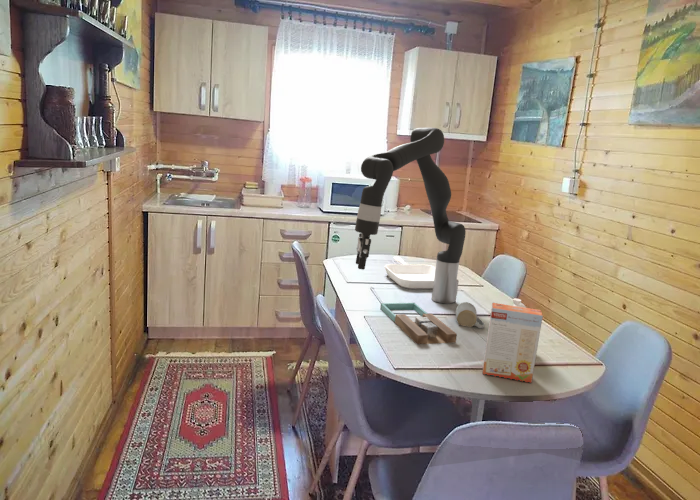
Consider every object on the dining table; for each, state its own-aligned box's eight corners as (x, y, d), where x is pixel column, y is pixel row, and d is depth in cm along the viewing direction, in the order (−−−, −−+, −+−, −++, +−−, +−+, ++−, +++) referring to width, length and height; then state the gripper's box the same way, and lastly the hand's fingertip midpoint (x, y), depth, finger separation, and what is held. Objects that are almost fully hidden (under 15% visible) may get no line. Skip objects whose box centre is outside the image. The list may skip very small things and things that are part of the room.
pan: (400, 290, 232) (402, 280, 230) (369, 263, 272) (370, 254, 271) (456, 290, 239) (458, 280, 238) (418, 264, 280) (419, 255, 279)
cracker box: (530, 375, 159) (542, 309, 154) (531, 384, 153) (543, 315, 149) (482, 366, 162) (492, 301, 157) (481, 374, 157) (492, 307, 152)
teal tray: (413, 310, 207) (414, 302, 207) (429, 323, 194) (430, 315, 194) (380, 310, 203) (380, 303, 202) (393, 324, 190) (394, 316, 189)
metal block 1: (425, 327, 187) (426, 316, 186) (429, 332, 183) (430, 321, 182) (414, 327, 186) (415, 316, 185) (418, 332, 182) (419, 321, 181)
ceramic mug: (455, 327, 193) (458, 307, 191) (454, 319, 201) (457, 300, 199) (484, 332, 192) (488, 311, 190) (482, 324, 199) (485, 304, 198)
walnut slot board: (430, 323, 194) (431, 313, 193) (455, 345, 176) (456, 333, 176) (394, 325, 190) (395, 314, 189) (416, 347, 172) (418, 335, 171)
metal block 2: (429, 333, 182) (431, 322, 181) (436, 337, 179) (437, 326, 178) (419, 334, 180) (421, 323, 179) (426, 338, 177) (427, 327, 176)
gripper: (382, 223, 168) (373, 272, 171) (376, 218, 182) (368, 264, 185) (359, 219, 168) (350, 269, 170) (355, 214, 182) (347, 261, 184)
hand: (359, 266), depth 177 cm, fingers open, 8 cm apart
